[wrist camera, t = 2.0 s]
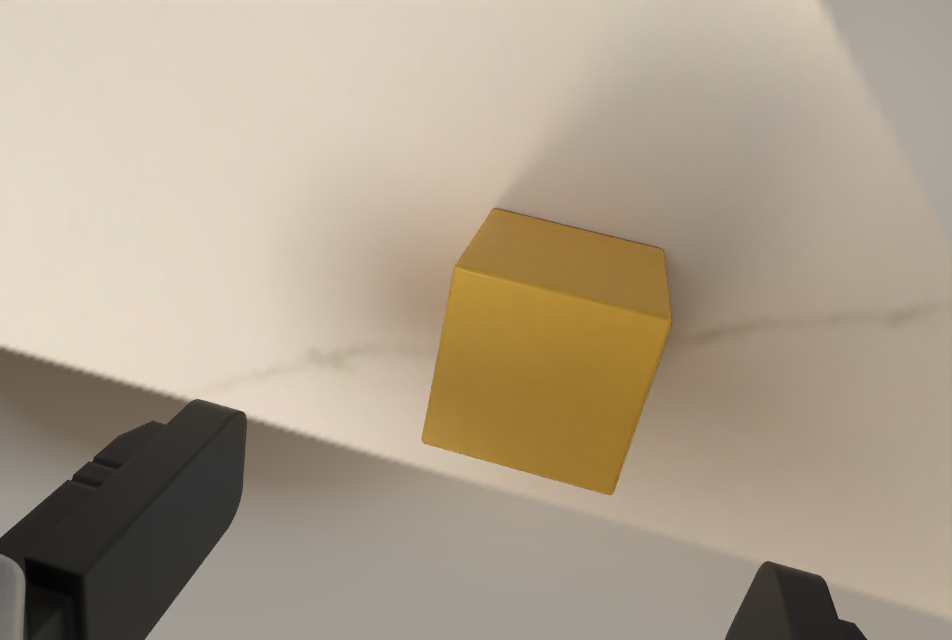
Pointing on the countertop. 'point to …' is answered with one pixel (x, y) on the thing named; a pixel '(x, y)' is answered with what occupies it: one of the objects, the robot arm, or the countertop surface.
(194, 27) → the countertop surface
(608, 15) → the countertop surface
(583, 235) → the block
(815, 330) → the countertop surface
